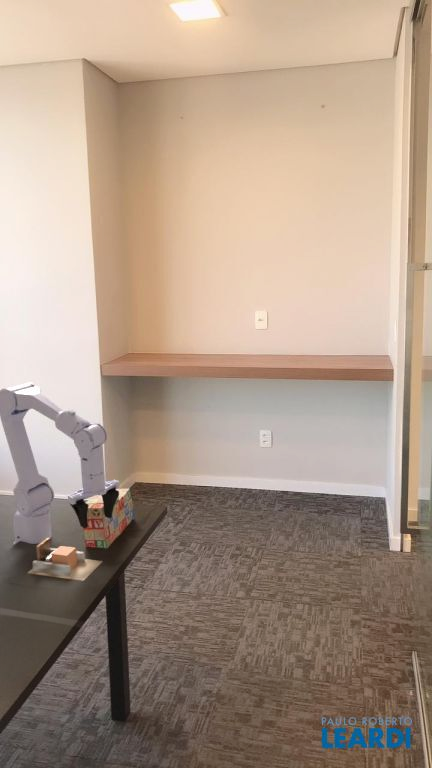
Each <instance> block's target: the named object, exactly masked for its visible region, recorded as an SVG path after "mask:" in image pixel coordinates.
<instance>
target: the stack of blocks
mask: <svg viewBox="0 0 432 768" xmlns="http://www.w3.org/2000/svg"><path fill="white" fill-rule="evenodd" d="M116 490H117V491H119V496H118V498H117V500H116V502H115V505H114V508H113V513H112V518H107V517H105V514H104V504H103V499H102V495H96V496H93V497H90V498H88V500H87V501H86V502H85V503H86V504H88V505H89V506H88V512H87V522H88V526H87V528H83V527H82V531H83V536H84V544H85V547H86V548H87V547H89V548H95V549H96V548H99V549H108V548H109V547H110V546H111V544H113V542H114V541H115V540H116V539H117V538H118V537H119V536H121V534H122V533H123V532H124V530H125V529H126V528H127V526H128V525H129V524H130V523H131V522H132V521H133V519H134V518H135V515H134V506H133V499H132V495H131V494H132V493H131V489H130V488H119V489H116Z"/></svg>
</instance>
